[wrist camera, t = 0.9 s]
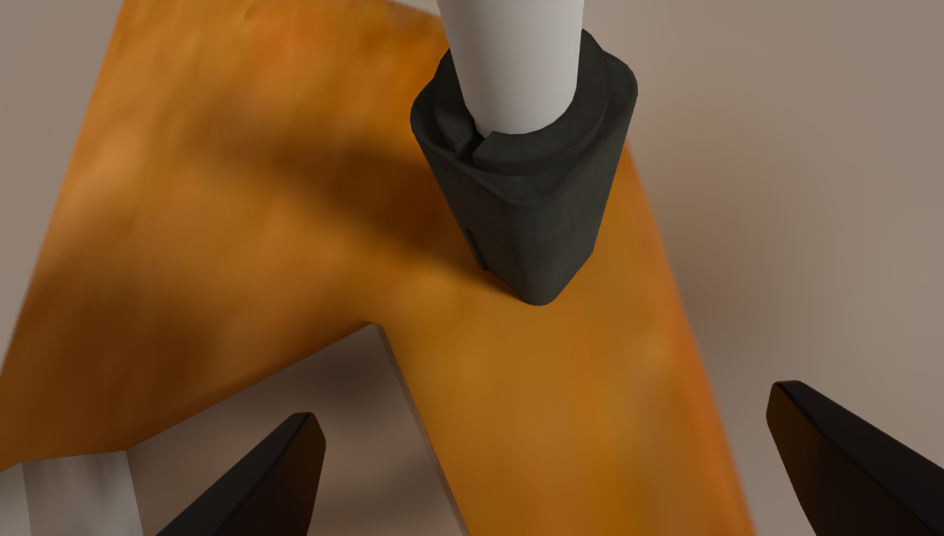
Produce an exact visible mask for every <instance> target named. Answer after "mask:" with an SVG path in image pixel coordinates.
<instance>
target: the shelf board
mask: <svg viewBox="0 0 944 536" xmlns="http://www.w3.org/2000/svg"><path fill="white" fill-rule="evenodd" d="M296 412H312V413H314V414H315V416H316V418H317V420H318V422H319V424H320V427H321V429H322V431H323V434H324V436H325V439H326V451H325V456H324V461H323V466H322V471H321V476H320V481H319V486H318V491H317V495H316V500H315V505H314V510H313V514H312V519H311V523H310V526H309V530H308V533H307V536H470V534H469V532H468V530H467V527H466V525H465V522H464V520H463V518H462V515H461V513H460V511H459V508H458V506H457V503H456V501H455V499H454V496H453V494H452V492H451V489H450V487H449V484H448V482H447V480H446V477H445V475H444V473H443V470H442V468H441V465H440V463H439V461H438V458H437V456H436V454H435V451H434V449H433V446H432V444H431V442H430V439H429V437H428V435H427V432H426V430H425V427H424V425H423V423H422V420H421V418H420V416H419V413H418V411H417V408H416V406H415V404H414V401H413V399H412V397H411V394H410V392H409V389H408V387H407V385H406V382H405V380H404V378H403V375H402V373H401V370H400V368H399V366H398V363H397V361H396V358H395V356H394V354H393V351H392V349H391V347H390V344H389V342H388V339H387V337H386V335H385V332H384V330H383V328H382V326H380V325H378V324H376V323H372V324H370V325H368V326H366V327H364V328H362V329H360V330H359V331H357V332H355V333H353V334H351V335H349V336H347V337H345V338H343V339H341V340H339V341H337V342H335V343H333V344H331V345H329V346H327V347H326V348H324V349H322V350H320V351H318V352H316V353H314V354H312V355H310V356H308V357H306V358H304V359H302V360H300V361H298V362H296V363H294V364H293V365H291V366H289V367H287V368H285V369H283V370H281V371H279V372H277V373H275V374H273V375H271V376H269V377H267V378H265V379H263V380H261V381H260V382H258V383H256V384H254V385H252V386H250V387H248V388H246V389H244V390H242V391H240V392H238V393H236V394H234V395H232V396H230V397H229V398H227V399H225V400H223V401H221V402H219V403H217V404H215V405H213V406H211V407H209V408H207V409H205V410H203V411H201V412H199V413H197V414H196V415H194V416H192V417H190V418H188V419H186V420H184V421H182V422H180V423H178V424H176V425H174V426H172V427H170V428H168V429H166V430H164V431H163V432H161V433H159V434H157V435H155V436H153V437H151V438H149V439H147V440H145V441H143V442H141V443H139V444H137V445H135V446H133V447H131V448H130V449H128V450H125V451H116V452H107V453H97V454H88V455H79V456H69V457H60V458H51V459H41V460H32V461H23V462H20V463H18V464H16V465H14V466H12V467H10V468H8V469H6V470H4V471H2V472H0V536H155V535H156V534H157V533H159V532H160V531H161V530H162V529H163V528H164V527H165V526H166V525H168V524H169V523H170V522H171V521H172V520H173V519H174V518H175V517H177V516H178V515H179V514H180V513H181V512H182V511H183V510H184V509H186V508H187V507H188V506H189V505H190V504H191V503H192V502H193V501H195V500H196V499H197V498H198V497H199V496H200V495H201V494H202V493H203V492H205V491H206V490H207V489H208V488H209V487H210V486H211V485H212V484H214V483H215V482H216V481H217V480H218V479H219V478H220V477H221V476H223V475H224V474H225V473H226V472H227V471H228V470H229V469H230V468H232V467H233V466H234V465H235V464H236V463H237V462H238V461H239V460H241V459H242V458H243V457H244V456H245V455H246V454H247V453H248V452H250V451H251V450H252V449H253V448H254V447H255V446H256V445H257V444H258V443H260V442H261V441H262V440H263V439H264V438H265V437H266V436H267V435H269V434H270V433H271V432H272V431H273V430H274V429H275V428H276V427H278V426H279V425H280V424H281V423H282V422H283V421H284V420H285V419H287V418H288V417H289V416H290V415H291V414H293V413H296Z"/></svg>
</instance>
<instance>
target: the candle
mask: <svg viewBox="0 0 944 536" xmlns="http://www.w3.org/2000/svg"><path fill="white" fill-rule="evenodd" d="M437 3H438V7H439V10H440V14H441V18H442V21H443V25H444V28H445V32H446V36H447V39H448V43H449V47H450V48H449V49H448V51H447V52H446V53H445V55H444V56H443V58H442V59H441V60H440V63H439V66H438V68H437V71H436V73H435V76H434V78H433V79H432V80H431V81H430V82H429V83H428V84H427V85H426V86H425V88H424V89H423V90H422V91H421V92H420V93H419V95H418V96H417V97H416V99H415V100H414V103H413V105H412V108H411V114H410V123H411V128H412V131H413V133H414V135H415V137H416V139H417V141H418V143H419V145H420V147H421V149H422V151H423V153H424V155H425V157H426V159H427V161H428V163H429V165H430V167H431V170H432V172H433V174H434V176H435V178H436V180H437V182H438V184H439V186H440V188H441V190H442V192H443V194H444V196H445V198H446V200H447V202H448V204H449V206H450V208H451V210H452V212H453V214H454V216H455V218H456V220H457V222H458V224H459V226H460V228H461V230H462V232H463V234H464V236H465V238H466V240H467V242H468V244H469V246H470V248H471V250H472V252H473V254H474V256H475V258H476V260H477V262H478V264H479V266H480V267H481V268H482V269H483V270H487V269H489V270H490V271H492V272H493V273H494V274H495V275H497V276H498V277H499V278H501V279H502V280H503V281H504V282H506V283H507V284H508V285H510V286H511V287H512V288H513V289H515V290H516V291H517V292H518V293H520V294H521V298H522V300H523V301H524V302H526V303H528V304H531V305H534V306H541V305H546V304H548V303H550V302H552V301H553V300H554V299H555V298H556V297H557V296H558V295H559V294H560V292H561V291H562V290H563V289H564V287H565V286H566V285H567V284H568V283H569V281H570V280H571V279H572V278H573V276H574V275H575V274H576V273H577V271H578V270H579V269H580V268H581V267H582V265H583V264H584V263H585V262H586V260H587V259H588V258H589V257H590V255H591V253H592V252H593V248H594V245H595V241H596V238H597V235H598V231H599V228H600V224H601V221H602V217H603V214H604V210H605V207H606V203H607V200H608V196H609V193H610V190H611V186H612V183H613V179H614V176H615V172H616V169H617V165H618V162H619V158H620V155H621V152H622V148H623V145H624V141H625V138H626V134H627V131H628V127H629V124H630V120H631V117H632V114H633V110H634V107H635V103H636V99H637V96H638V87H637V81H636V78H635V76H634V73H633V72H632V71H631V69H630V68H629V67H628V65H626V64H625V63H624V62H622V61H621V60H620V59H618V58H616V57H615V56H613V55H611V54H609V53H607V52H606V51H604V50H602V48H601V47H600V46H599V44H598V43H597V42H596V41H595V39H594V38H593V37H592V35H591V34H590V33H588V32H587V31H586V30H584V29H582V30H581V27H582V16H583V5H584V0H437Z"/></svg>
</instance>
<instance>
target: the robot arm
mask: <svg viewBox="0 0 944 536" xmlns="http://www.w3.org/2000/svg"><path fill="white" fill-rule="evenodd" d="M766 419H767V424H768V427H769V429H770V432H771V434H772V437H773V439H774V441H775V444H776V446H777V449H778V451H779V454H780V456H781V459H782V461H783V464H784V466H785V469H786V471H787V474H788V476H789V478H790V481H791V483H792V485H793V488H794V491H795V493H796V495H797V498H798V500H799V502H800V505H801V507H802V509H803V511H804V512H805V515H806V517H807V519H808V521H809V522H810V524H811V526H812V528H813V530H814V532H815V533H816V535H817V536H944V469H943V468H941V467H940V466H938V465H937V464H935V463H933V462H931V461H930V460H928V459H927V458H925V457H923V456H922V455H920V454H919V453H917V452H915V451H914V450H912V449H911V448H909V447H907V446H906V445H904V444H902V443H901V442H899V441H898V440H896V439H894V438H893V437H891V436H889V435H888V434H886V433H884V432H883V431H881V430H880V429H878V428H876V427H875V426H873V425H872V424H870V423H868V422H867V421H865V420H863V419H862V418H860V417H859V416H857V415H855V414H854V413H852V412H850V411H849V410H847V409H846V408H844V407H842V406H841V405H839V404H837V403H836V402H834V401H832V400H831V399H829V398H827V397H826V396H824V395H823V394H821V393H819V392H818V391H816V390H815V389H813V388H811V387H810V386H808V385H806V384H805V383H803V382H801V381H797V380H791V381H777V382H775V383H774V384H773V385H772V388H771V392H770V397H769V402H768V407H767V412H766ZM325 451H326V439H325V436H324V434H323V431H322V429H321V427H320V424H319V422H318V420H317V418H316V416H315V414H314V413H312V412H296V413H293V414H291V415H290V416H289V417H288V418H287V419H285V420H284V421H283V422H282V423H281V424H280V425H279V426H278V427H276V428H275V429H274V430H273V431H272V432H271V433H270V434H269V435H267V436H266V437H265V438H264V439H263V440H262V441H261V442H260V443H258V444H257V445H256V446H255V447H254V448H253V449H252V450H251V451H250V452H248V453H247V454H246V455H245V456H244V457H243V458H242V459H241V460H239V461H238V462H237V463H236V464H235V465H234V466H233V467H232V468H230V469H229V470H228V471H227V472H226V473H225V474H224V475H223V476H221V477H220V478H219V479H218V480H217V481H216V482H215V483H214V484H212V485H211V486H210V487H209V488H208V489H207V490H206V491H205V492H203V493H202V494H201V495H200V496H199V497H198V498H197V499H196V500H195V501H193V502H192V503H191V504H190V505H189V506H188V507H187V508H186V509H184V510H183V511H182V512H181V513H180V514H179V515H178V516H177V517H175V518H174V519H173V520H172V521H171V522H170V523H169V524H168V525H166V526H165V527H164V528H163V529H162V530H161V531H160V532H159V533H157V534H156V535H155V536H307V533H308V530H309V526H310V523H311V519H312V514H313V510H314V505H315V500H316V495H317V491H318V486H319V481H320V476H321V471H322V466H323V461H324V456H325Z"/></svg>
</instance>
